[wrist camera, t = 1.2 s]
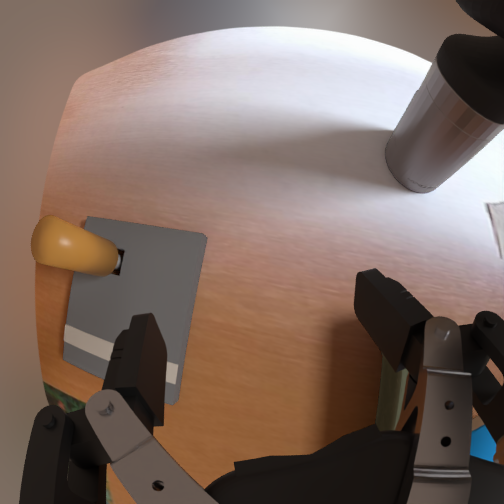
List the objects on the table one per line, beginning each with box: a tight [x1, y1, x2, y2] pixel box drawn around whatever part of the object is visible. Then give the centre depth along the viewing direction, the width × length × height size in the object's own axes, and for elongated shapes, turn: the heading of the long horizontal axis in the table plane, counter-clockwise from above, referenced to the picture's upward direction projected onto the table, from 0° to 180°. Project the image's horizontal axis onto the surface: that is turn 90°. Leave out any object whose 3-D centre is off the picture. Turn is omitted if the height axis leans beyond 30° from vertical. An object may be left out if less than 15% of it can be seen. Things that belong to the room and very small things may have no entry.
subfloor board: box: [63, 216, 207, 405], centre depth 32 cm, size 20×17×2 cm
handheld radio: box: [375, 352, 408, 431], centre depth 24 cm, size 7×3×25 cm
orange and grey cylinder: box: [31, 215, 124, 277], centre depth 27 cm, size 4×4×14 cm
